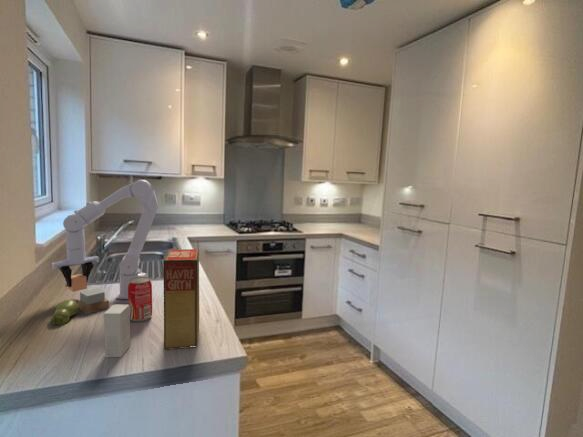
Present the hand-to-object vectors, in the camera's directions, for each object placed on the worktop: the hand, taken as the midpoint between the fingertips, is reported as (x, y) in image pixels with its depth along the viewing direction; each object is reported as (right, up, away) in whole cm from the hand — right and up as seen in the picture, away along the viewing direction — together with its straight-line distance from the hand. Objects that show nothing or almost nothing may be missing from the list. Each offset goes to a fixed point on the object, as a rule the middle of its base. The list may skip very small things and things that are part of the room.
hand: (77, 284), depth 124 cm
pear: (+6, -8, -16) cm, 18 cm away
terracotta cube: (0, -2, 0) cm, 2 cm away
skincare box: (+31, -12, -33) cm, 47 cm away
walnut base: (+9, -7, -6) cm, 13 cm away
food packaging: (+45, -11, -23) cm, 52 cm away
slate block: (+9, -4, -7) cm, 12 cm away
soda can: (+28, -9, -12) cm, 32 cm away
